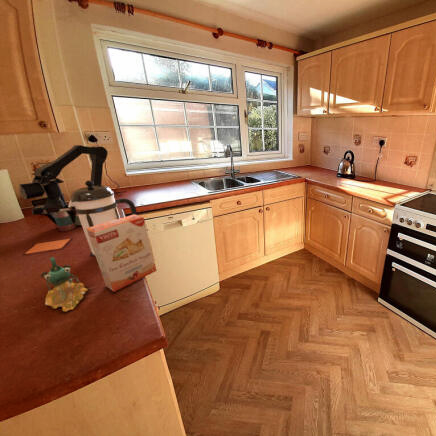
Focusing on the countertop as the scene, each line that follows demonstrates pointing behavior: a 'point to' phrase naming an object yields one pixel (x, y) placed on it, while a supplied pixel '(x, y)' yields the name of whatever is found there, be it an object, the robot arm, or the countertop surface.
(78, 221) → the block
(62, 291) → the frog figurine
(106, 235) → the cracker box
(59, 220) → the can
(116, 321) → the countertop surface
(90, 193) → the coffee press
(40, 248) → the cloth
